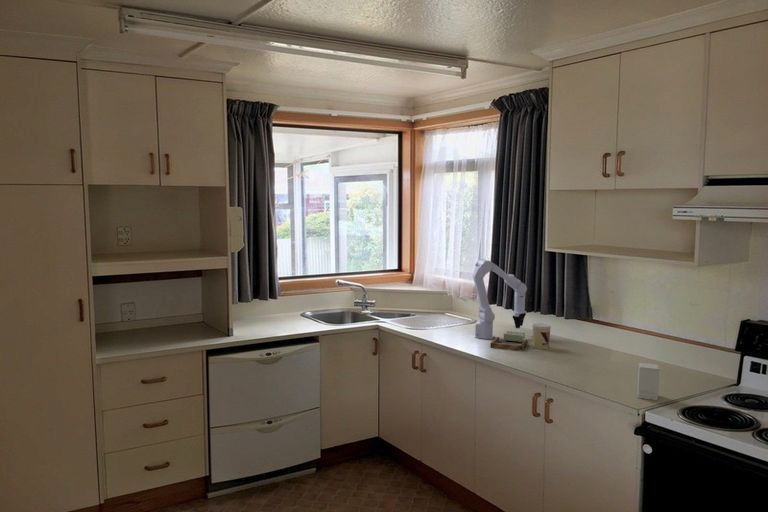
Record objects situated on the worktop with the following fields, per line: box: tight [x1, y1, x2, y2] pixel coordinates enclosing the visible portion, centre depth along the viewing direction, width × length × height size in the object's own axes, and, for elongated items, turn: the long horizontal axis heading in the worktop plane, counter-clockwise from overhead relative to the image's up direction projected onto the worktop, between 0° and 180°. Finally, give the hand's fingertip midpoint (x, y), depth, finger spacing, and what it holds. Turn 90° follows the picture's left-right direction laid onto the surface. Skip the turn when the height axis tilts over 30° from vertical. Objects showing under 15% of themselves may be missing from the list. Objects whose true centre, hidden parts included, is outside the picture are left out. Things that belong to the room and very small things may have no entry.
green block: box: [503, 330, 526, 343], centre depth 335 cm, size 10×8×4 cm
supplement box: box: [636, 362, 660, 401], centre depth 241 cm, size 7×7×13 cm
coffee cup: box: [532, 323, 552, 350], centre depth 320 cm, size 9×9×12 cm
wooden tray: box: [489, 336, 528, 351], centre depth 323 cm, size 16×15×2 cm
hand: (519, 326), depth 346 cm, fingers open, 7 cm apart
